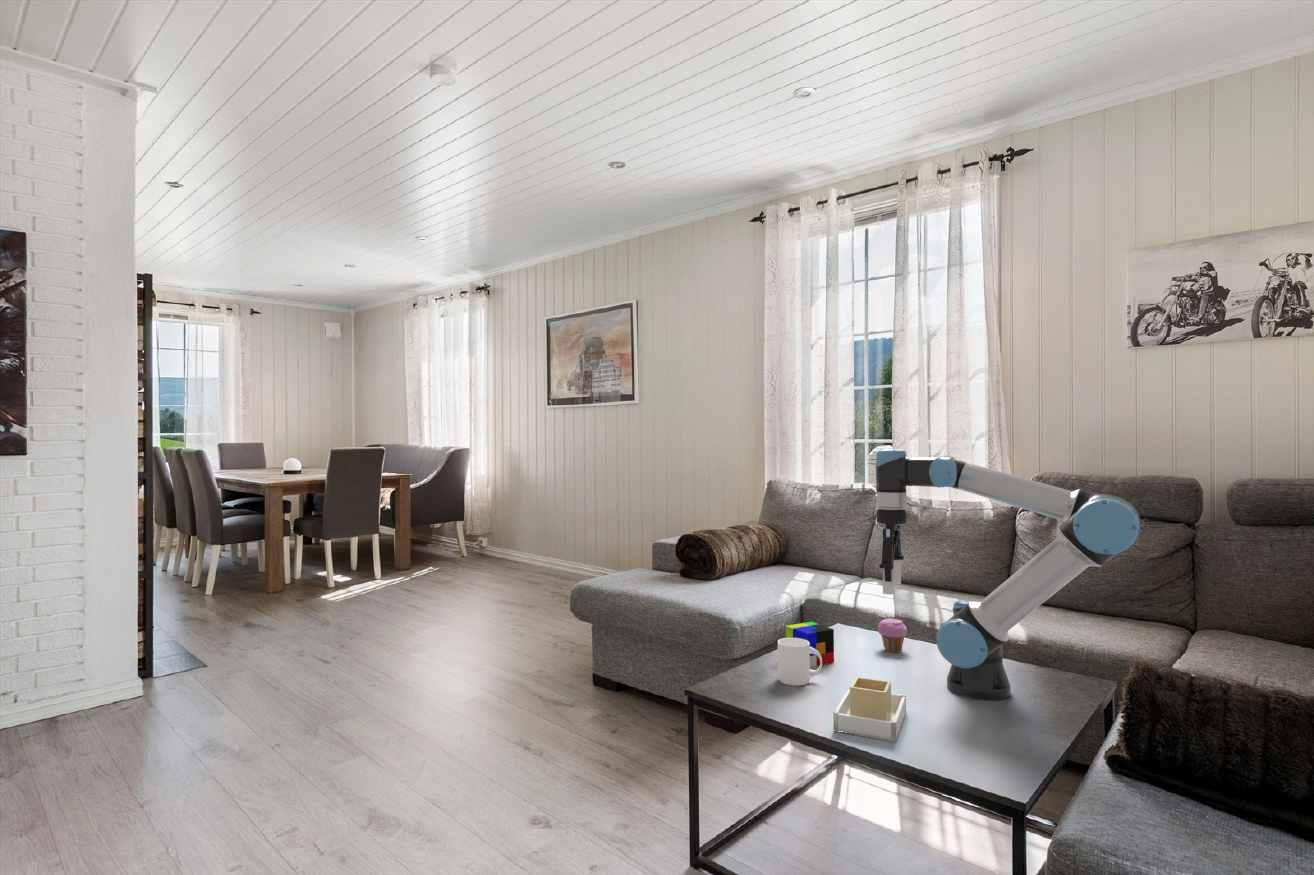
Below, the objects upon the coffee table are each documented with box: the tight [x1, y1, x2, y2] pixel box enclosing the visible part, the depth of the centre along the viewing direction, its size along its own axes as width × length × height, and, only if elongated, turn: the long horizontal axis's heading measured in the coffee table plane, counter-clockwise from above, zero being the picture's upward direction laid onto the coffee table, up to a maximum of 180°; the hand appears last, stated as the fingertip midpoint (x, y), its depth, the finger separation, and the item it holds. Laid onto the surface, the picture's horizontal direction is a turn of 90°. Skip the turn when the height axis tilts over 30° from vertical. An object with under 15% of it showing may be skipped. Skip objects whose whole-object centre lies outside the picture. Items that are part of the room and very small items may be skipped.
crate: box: [833, 685, 907, 743], centre depth 161 cm, size 13×19×4 cm
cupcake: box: [877, 618, 908, 653], centre depth 216 cm, size 9×9×10 cm
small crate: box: [850, 676, 892, 721], centre depth 161 cm, size 8×8×8 cm
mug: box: [777, 637, 823, 687], centre depth 189 cm, size 9×12×11 cm
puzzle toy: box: [785, 621, 835, 668], centre depth 206 cm, size 10×10×10 cm
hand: (892, 589), depth 181 cm, fingers open, 13 cm apart
